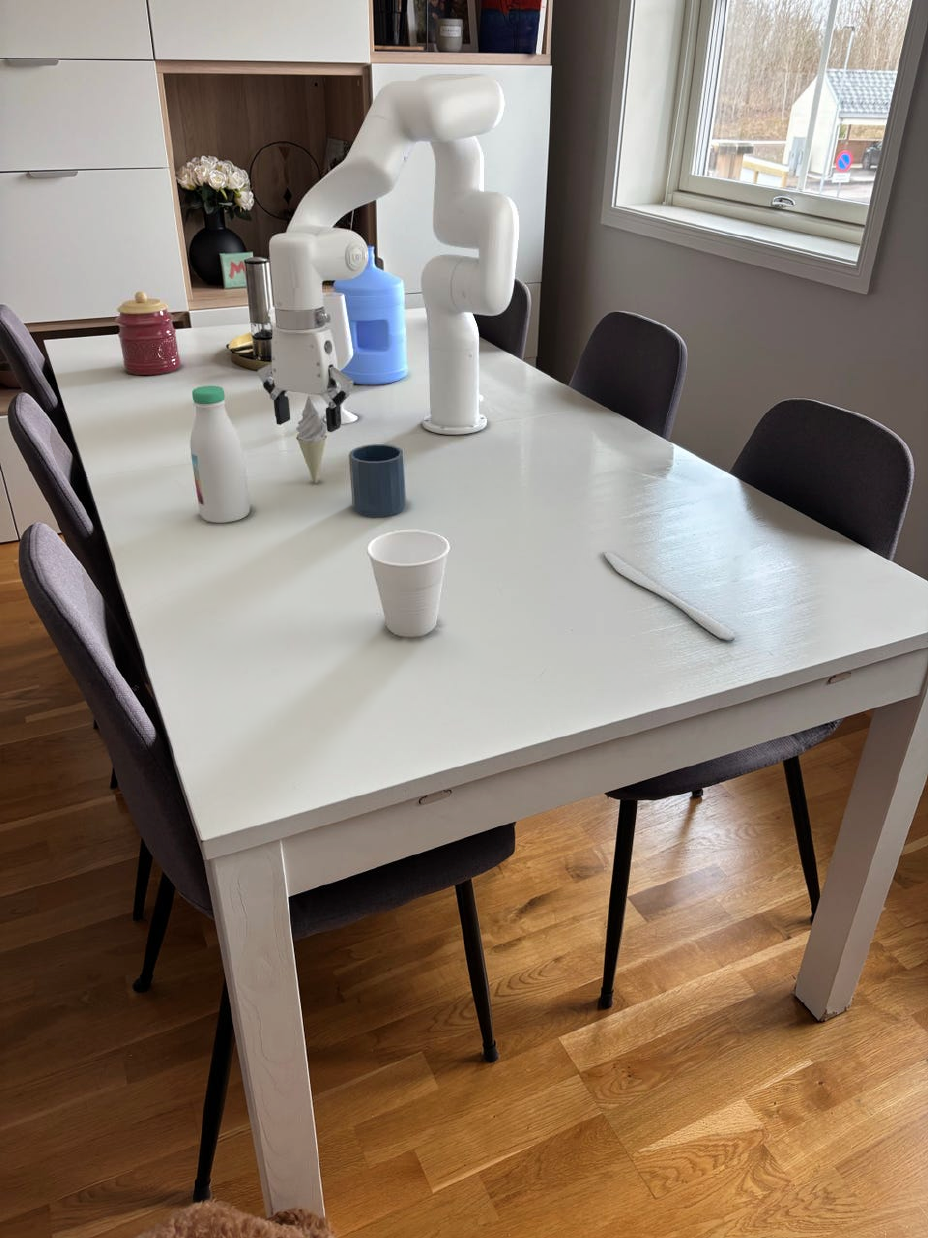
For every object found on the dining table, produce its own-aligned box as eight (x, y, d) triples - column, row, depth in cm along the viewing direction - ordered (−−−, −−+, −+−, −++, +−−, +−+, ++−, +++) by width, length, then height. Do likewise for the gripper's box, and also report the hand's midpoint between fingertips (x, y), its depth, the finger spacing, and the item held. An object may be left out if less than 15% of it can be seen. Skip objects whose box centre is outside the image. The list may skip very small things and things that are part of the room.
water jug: (369, 363, 228) (362, 239, 214) (421, 373, 220) (417, 245, 206) (325, 378, 217) (314, 248, 204) (377, 389, 209) (370, 254, 195)
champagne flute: (317, 421, 190) (306, 297, 178) (334, 411, 196) (324, 290, 184) (347, 425, 188) (338, 299, 176) (363, 415, 193) (355, 292, 182)
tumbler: (369, 493, 157) (365, 441, 153) (414, 501, 154) (412, 448, 150) (343, 512, 150) (339, 458, 146) (390, 520, 147) (387, 465, 143)
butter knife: (719, 640, 114) (739, 633, 115) (596, 555, 135) (613, 550, 136) (718, 644, 114) (738, 637, 115) (596, 559, 136) (613, 553, 137)
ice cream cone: (325, 489, 159) (317, 401, 151) (296, 487, 160) (287, 399, 152) (334, 478, 163) (327, 392, 156) (306, 476, 164) (298, 390, 157)
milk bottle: (259, 507, 152) (244, 383, 142) (234, 526, 146) (216, 398, 136) (217, 502, 154) (199, 379, 145) (191, 520, 148) (170, 393, 138)
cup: (371, 609, 123) (366, 531, 117) (448, 605, 124) (446, 527, 118) (371, 649, 114) (366, 567, 109) (454, 644, 115) (452, 562, 109)
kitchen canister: (139, 360, 233) (125, 285, 224) (189, 362, 231) (178, 286, 223) (115, 375, 222) (100, 296, 213) (168, 376, 220) (155, 297, 211)
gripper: (360, 319, 148) (365, 426, 156) (267, 309, 154) (277, 413, 162) (335, 328, 142) (342, 439, 150) (239, 318, 148) (251, 425, 156)
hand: (308, 425), depth 156 cm, fingers open, 9 cm apart
